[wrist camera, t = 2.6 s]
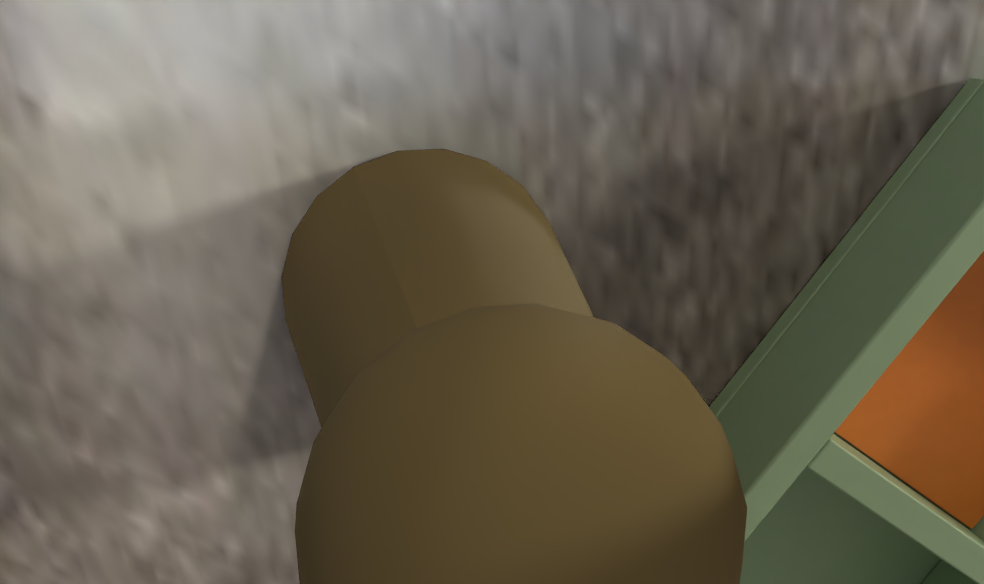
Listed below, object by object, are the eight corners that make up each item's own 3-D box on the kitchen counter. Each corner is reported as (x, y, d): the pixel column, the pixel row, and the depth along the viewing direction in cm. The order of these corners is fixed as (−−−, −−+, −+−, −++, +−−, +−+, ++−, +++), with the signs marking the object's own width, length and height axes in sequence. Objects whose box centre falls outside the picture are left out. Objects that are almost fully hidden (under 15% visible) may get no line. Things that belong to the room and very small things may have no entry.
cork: (578, 381, 21) (847, 761, 10) (318, 444, 20) (327, 923, 9) (540, 122, 18) (827, 270, 8) (248, 180, 18) (163, 425, 7)
